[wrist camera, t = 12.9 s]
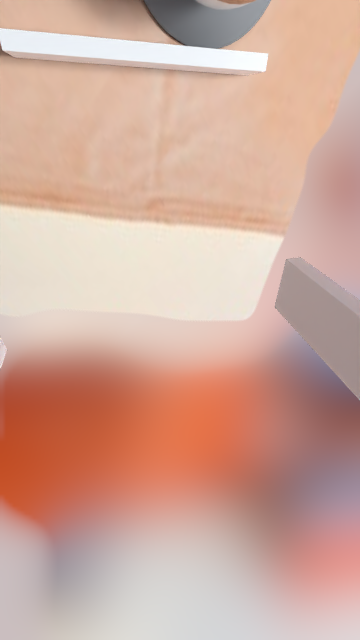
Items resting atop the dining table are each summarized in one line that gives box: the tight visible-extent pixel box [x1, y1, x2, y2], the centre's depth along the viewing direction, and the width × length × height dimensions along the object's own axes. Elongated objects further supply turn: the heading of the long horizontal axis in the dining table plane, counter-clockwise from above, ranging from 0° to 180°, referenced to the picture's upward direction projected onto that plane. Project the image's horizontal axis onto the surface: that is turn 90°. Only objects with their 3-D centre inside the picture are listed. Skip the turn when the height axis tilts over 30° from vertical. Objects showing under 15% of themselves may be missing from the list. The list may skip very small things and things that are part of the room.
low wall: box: [0, 28, 268, 75], centre depth 25 cm, size 22×1×4 cm, turn 88°
